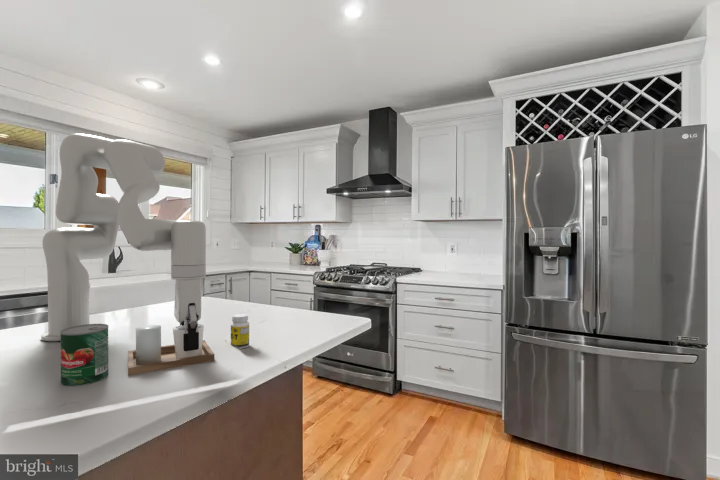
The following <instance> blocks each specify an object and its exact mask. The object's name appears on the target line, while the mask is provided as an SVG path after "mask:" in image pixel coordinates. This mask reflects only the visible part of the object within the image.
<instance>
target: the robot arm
mask: <svg viewBox="0 0 720 480" xmlns="http://www.w3.org/2000/svg"><path fill="white" fill-rule="evenodd" d="M58 154H59V163H60V171H61V175H60V182H59V186H58V192H57V198H56V205H55V216H56V219H57V220H58V221H59V222H61V223H63V224H67V225H74V226H75V225H77V226H78V225H79V226H93V227H58V228H53V229H50V230H49V231H47V232H46V233H45V234H44V235H43V237H42V243H41V244H42V249H43V253H44V258H45V263H46V272H47V273H46V275H47V325H48V326H47V327H48V329H47V330H48V331H47V332H44V333H42V334H41V335H40V339H41V340H42V341H44V342H61V341H60V340H61V334H60V331H61V330H63V329H66V328H69V327H73V326H79V325H86V324H90V276H89V272H88V270H87V268H86V267H85V266H84V265H83V263H82V262H81V261H82V260H83V261H84V260H95V259H96V260H97V259H99V260H100V259H105V258H107V257H109V256H110V255H112V253H113V252H114V249H115V246H116V240H117V237H118V236H117V235H118V231H119V227H120V229H121V232H122V233H123V236H124V237H125V239H126V240H127V242H128V244H129V245H130V246H131V247H133V248H134V249H136V250H138V251H142V252H150V251H151V252H152V251H154V252H155V251H170V252H171V253H170V255H171V256H170V261H171V262H170V272H171V273H170V275H171V276H170V279H171V280H174V281H175V282H174V283H175V285H174V307H173V308H174V311H173V315H174V318H175V320H176V322H178V323H179V326H182V325H184V327H185V334H183V349H184V351H191V350H198V349H199V332H198V324H199V321H200V320H201V318H202V279H206V276H207V275H206V274H207V273H206V272H207V271H206V265H207V263H206V260H207V259H206V258H207V257H206V255H207V252H206V248H207V246H206V241H207V239H206V237H207V236H206V234H207V233H206V231H207V230H206V229H207V227H206V224H205V223H204V222H203V221H200V220H185V219H183V220H176V219H157V218H145V216H144V215H143V212H142V211H141V208H140V207H139V204H142V203H144V202H147V201H149V200H151V199H152V198H154V197H155V196H157V194H158V193H159V192H160V186H161V185H160V182H159V181H158V179H157V176H159V175H161V174H162V173H163V172H164V169H165V167H166V166H165V165H166V161H165V157H164V154H163V153H162V151H160V149H158V148H157V147H155V146H153V145H150V144H145V143H140V142H137V141H133V140H128V139H111V138H105V137H103V136H97V135H92V134H87V133H86V134H85V133H71V134H68V135H66V137H64V138H63V140H61V144H60V147H59V153H58ZM97 168H98V169H103V170H108V171H111V173H112V175H113V176H114V179H115V180H116V183H117V184H118V186H119V189H120V190H121V191H122V194H123V195H122V196H121V198H120V199H119V201H118V200H117V199H116V198H115V197H114V196H112V195H109V194H105V193H103V194H102V193H97V191H98V186H99V178H98V175H97V173H96V171H95V169H97Z"/></svg>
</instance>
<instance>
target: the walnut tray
mask: <svg viewBox="0 0 720 480" xmlns="http://www.w3.org/2000/svg"><path fill="white" fill-rule="evenodd" d="M210 362H215V353H214V351H213V350H212V349H211V347H210V345H208V342H207V341H206V340H203V343H202V355H198V356H192V357H186V358H179V359H177V358H176V353H175V344H168V345H167V344H166V345H161V362H154V363H148V364H142V365H136V349H133V350H128V351H127V373H128V374H127V375H128V377H129V376H133V375H138V374H144V373H145V374H146V373H152V372H157V371H163V370H169V369H176V368H181V367H187V366H192V365H193V366H194V365H197V364H198V365H199V364H204V363H210Z"/></svg>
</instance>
